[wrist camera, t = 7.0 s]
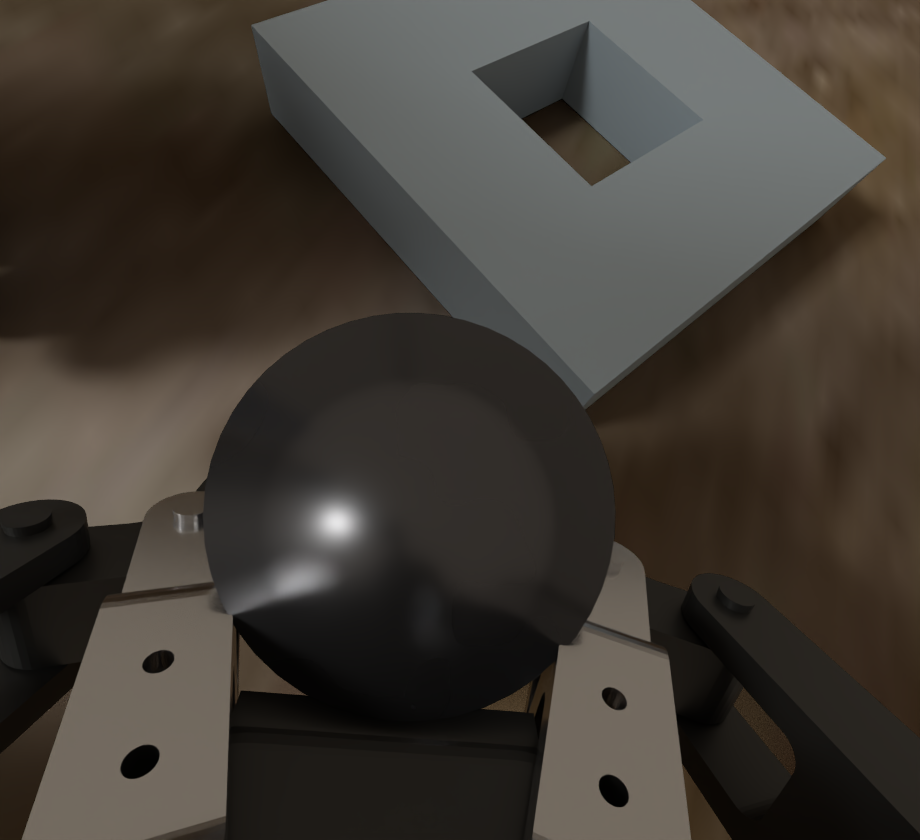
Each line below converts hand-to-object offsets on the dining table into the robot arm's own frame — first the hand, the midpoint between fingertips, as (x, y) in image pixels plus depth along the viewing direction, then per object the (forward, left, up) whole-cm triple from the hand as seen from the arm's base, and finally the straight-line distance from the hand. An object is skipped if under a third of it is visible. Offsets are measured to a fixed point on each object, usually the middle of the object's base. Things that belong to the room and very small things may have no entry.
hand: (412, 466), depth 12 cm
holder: (-8, +15, -4) cm, 17 cm away
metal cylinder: (+1, -1, -4) cm, 5 cm away
